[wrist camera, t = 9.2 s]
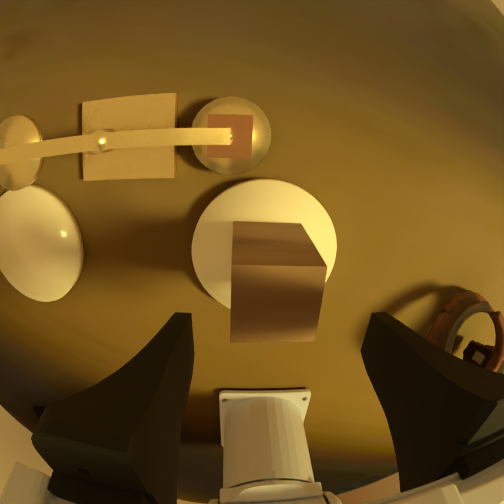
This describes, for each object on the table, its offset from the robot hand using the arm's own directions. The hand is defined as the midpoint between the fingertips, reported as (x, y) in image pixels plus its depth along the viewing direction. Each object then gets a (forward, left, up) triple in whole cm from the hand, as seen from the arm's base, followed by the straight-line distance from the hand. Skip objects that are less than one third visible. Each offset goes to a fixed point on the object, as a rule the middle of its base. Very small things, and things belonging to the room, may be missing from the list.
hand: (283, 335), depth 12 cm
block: (0, 0, -8) cm, 8 cm away
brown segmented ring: (-8, -18, -9) cm, 22 cm away
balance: (+7, +9, -9) cm, 14 cm away
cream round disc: (0, +17, -9) cm, 19 cm away
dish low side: (0, 0, -9) cm, 9 cm away
